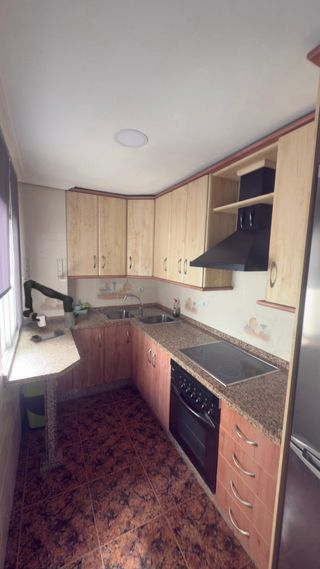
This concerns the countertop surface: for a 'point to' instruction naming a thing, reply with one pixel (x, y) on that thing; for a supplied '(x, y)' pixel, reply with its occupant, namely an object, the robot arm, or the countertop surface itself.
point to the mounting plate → (47, 337)
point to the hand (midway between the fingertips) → (42, 319)
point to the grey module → (41, 319)
